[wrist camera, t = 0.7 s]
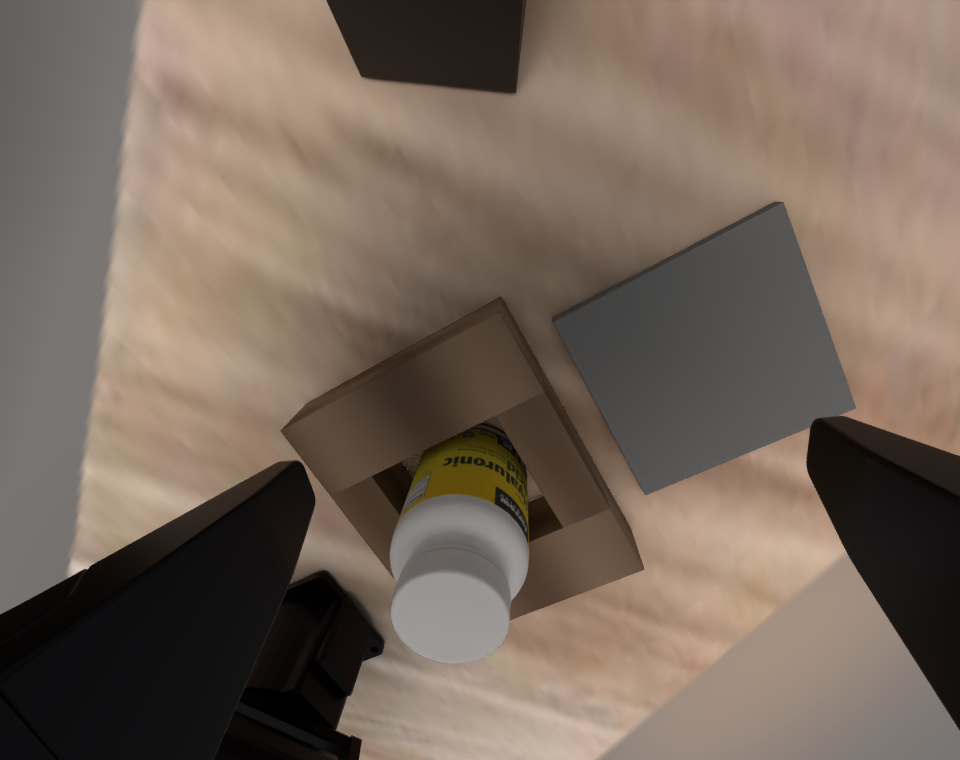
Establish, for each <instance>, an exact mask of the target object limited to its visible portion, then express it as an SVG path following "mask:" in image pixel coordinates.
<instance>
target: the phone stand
mask: <svg viewBox="0 0 960 760" xmlns="http://www.w3.org/2000/svg"><path fill="white" fill-rule="evenodd" d="M327 3H328V5H329V7H330V9H331V11H332V14H333V16H334V18H335V20H336V22H337V24H338V27H339V29H340V31H341V33H342V35H343V38H344V40H345V42H346V44H347V46H348V48H349V51H350V53H351V55H352V57H353V59H354V62H355V64H356V66H357V68H358V70H359V72H360V75H361V76H362V77H368V78H378V79H388V80H398V81H407V82H417V83H427V84H437V85H447V86H456V87H466V88H476V89H486V90H495V91H505V92H515V93H516V87H517V78H518V69H519V60H520V51H521V42H522V33H523V24H524V15H525V6H526V0H327Z"/></svg>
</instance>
